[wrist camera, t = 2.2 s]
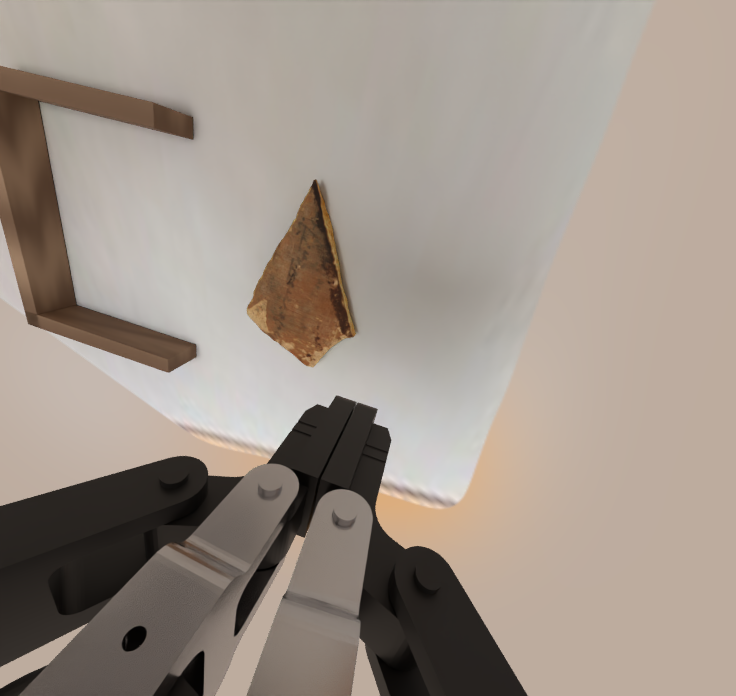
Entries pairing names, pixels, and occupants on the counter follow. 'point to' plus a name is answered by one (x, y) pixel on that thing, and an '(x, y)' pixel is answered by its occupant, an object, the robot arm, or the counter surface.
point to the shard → (304, 287)
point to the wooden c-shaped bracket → (42, 220)
